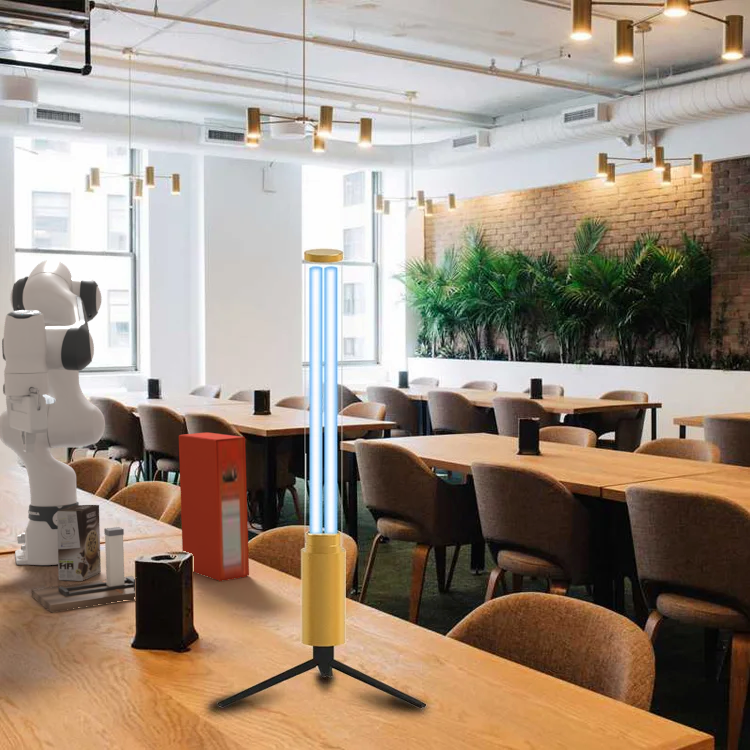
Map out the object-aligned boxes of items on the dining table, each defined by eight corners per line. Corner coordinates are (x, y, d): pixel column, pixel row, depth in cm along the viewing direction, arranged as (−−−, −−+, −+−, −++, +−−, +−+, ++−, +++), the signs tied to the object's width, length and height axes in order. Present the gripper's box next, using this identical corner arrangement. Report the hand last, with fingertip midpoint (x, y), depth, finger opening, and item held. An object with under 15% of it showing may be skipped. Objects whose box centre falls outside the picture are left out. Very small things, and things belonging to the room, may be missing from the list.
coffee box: (83, 581, 237) (81, 510, 237) (57, 580, 239) (55, 510, 238) (102, 572, 246) (100, 504, 246) (76, 571, 247) (74, 503, 247)
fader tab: (105, 584, 226) (104, 528, 225) (120, 582, 227) (118, 526, 227) (110, 587, 223) (108, 530, 223) (125, 585, 225) (123, 529, 224)
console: (31, 596, 224) (31, 580, 224) (132, 582, 235) (131, 566, 235) (51, 612, 210) (50, 595, 210) (156, 596, 222) (156, 580, 222)
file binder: (218, 581, 234) (214, 439, 233) (181, 569, 248) (178, 434, 247) (249, 576, 239) (246, 436, 238) (212, 564, 253) (208, 432, 252)
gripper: (54, 387, 214) (56, 455, 215) (30, 384, 232) (32, 447, 232) (22, 389, 211) (25, 457, 212) (0, 385, 228) (3, 449, 229)
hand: (28, 451), depth 222 cm, fingers closed
